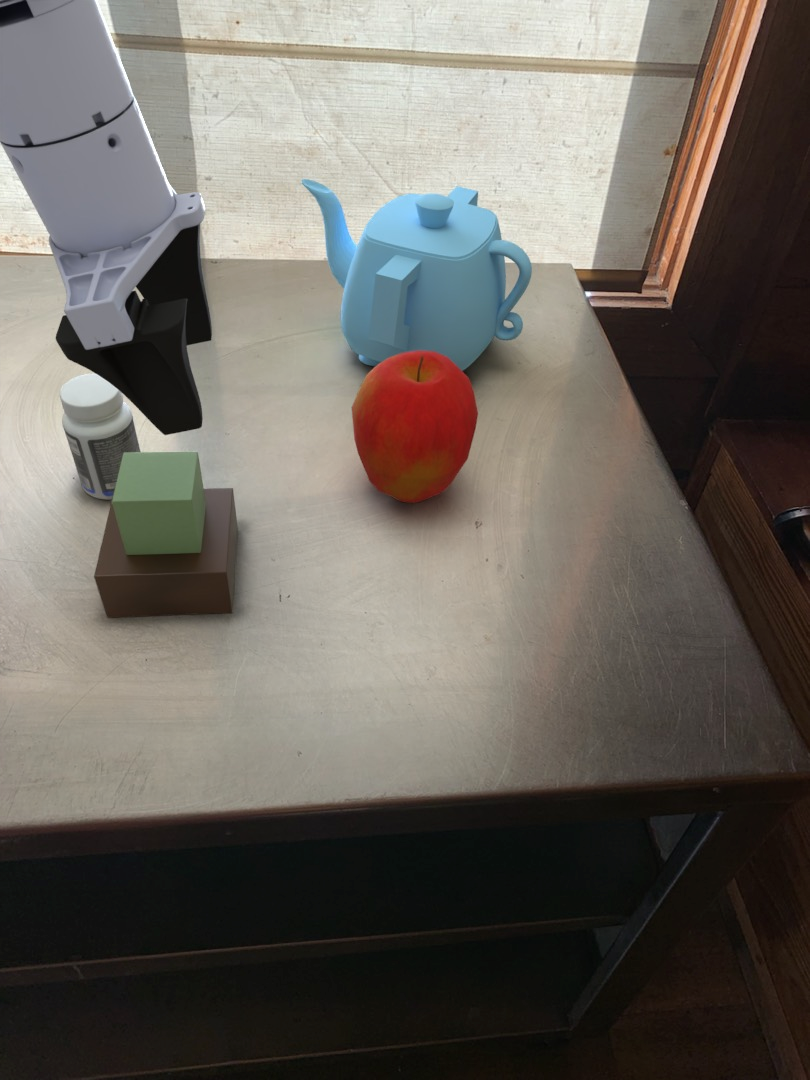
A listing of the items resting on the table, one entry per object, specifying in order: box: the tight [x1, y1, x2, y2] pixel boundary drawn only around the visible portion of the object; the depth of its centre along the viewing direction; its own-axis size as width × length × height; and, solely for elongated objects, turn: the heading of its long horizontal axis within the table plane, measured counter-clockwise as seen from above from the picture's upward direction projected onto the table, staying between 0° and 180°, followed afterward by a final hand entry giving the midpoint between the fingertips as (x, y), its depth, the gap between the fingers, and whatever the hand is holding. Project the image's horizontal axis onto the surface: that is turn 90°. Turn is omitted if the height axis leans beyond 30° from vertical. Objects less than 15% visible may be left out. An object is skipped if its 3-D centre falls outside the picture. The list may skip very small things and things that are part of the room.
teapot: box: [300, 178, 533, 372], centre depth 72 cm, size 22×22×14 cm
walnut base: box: [93, 487, 239, 618], centre depth 53 cm, size 8×8×4 cm
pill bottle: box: [59, 372, 141, 501], centre depth 57 cm, size 5×5×8 cm
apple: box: [351, 351, 479, 504], centre depth 58 cm, size 9×9×12 cm
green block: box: [111, 451, 206, 555], centre depth 50 cm, size 5×5×5 cm
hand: (189, 381), depth 42 cm, fingers open, 7 cm apart
